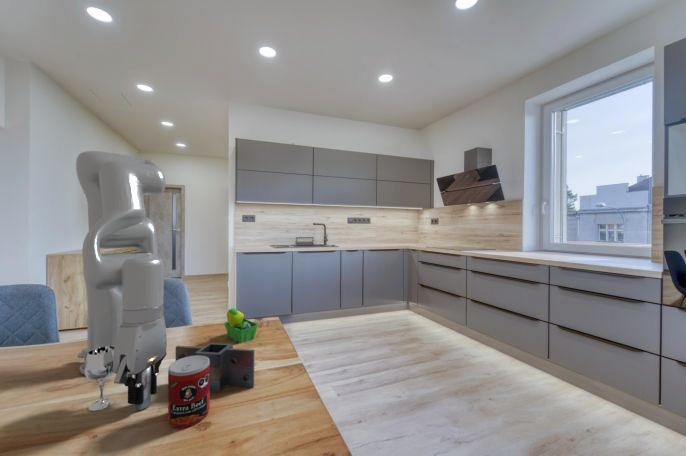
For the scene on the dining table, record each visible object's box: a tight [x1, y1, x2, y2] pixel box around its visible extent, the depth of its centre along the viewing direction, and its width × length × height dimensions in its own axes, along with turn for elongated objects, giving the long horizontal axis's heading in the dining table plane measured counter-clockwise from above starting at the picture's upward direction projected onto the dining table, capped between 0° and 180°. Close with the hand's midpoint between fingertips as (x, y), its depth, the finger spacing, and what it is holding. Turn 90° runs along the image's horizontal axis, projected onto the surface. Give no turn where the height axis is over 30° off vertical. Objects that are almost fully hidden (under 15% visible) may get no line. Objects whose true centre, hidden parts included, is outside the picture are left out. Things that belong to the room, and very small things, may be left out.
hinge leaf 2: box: [195, 342, 255, 393], centre depth 74 cm, size 13×6×9 cm, turn 83°
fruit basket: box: [223, 307, 259, 344], centre depth 105 cm, size 11×9×11 cm
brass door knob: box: [133, 356, 157, 411], centre depth 64 cm, size 5×5×10 cm
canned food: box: [167, 355, 211, 429], centre depth 62 cm, size 8×8×11 cm
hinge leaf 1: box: [174, 345, 226, 379], centre depth 74 cm, size 13×6×9 cm, turn 83°
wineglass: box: [84, 346, 115, 412], centre depth 65 cm, size 6×6×12 cm
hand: (142, 397), depth 64 cm, fingers closed on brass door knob, 3 cm apart
